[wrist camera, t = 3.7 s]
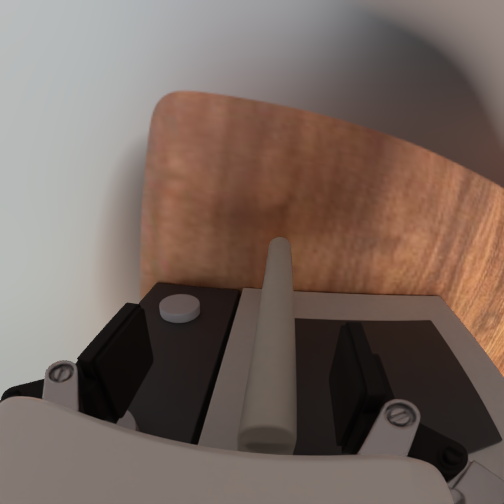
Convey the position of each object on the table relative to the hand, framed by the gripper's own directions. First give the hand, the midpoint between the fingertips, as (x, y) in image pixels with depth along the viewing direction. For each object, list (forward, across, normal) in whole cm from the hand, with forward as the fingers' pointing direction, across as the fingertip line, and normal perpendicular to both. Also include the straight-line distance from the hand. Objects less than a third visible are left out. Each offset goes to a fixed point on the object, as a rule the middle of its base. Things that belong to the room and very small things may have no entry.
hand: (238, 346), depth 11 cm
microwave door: (+14, -8, +3) cm, 17 cm away
